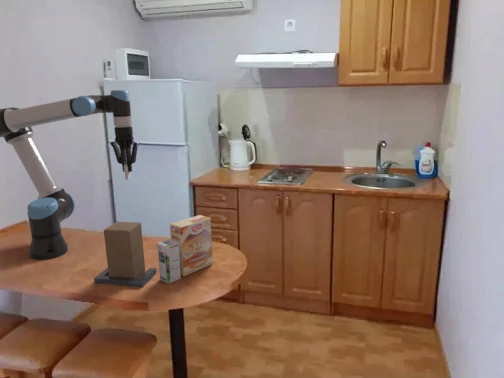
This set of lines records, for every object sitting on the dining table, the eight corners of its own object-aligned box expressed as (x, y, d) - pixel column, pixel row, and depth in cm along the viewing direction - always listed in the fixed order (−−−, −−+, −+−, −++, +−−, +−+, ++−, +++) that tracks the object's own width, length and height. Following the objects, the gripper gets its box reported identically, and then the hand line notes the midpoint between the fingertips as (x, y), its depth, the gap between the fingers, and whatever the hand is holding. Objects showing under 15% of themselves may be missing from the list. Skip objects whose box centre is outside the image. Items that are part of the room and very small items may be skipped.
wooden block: (133, 283, 153) (128, 231, 148) (108, 281, 155) (102, 229, 150) (145, 271, 162) (141, 222, 158) (122, 269, 164) (117, 221, 160)
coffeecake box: (183, 276, 157) (180, 227, 152) (172, 271, 162) (168, 223, 157) (213, 264, 167) (211, 217, 163) (202, 259, 172) (199, 214, 168)
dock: (94, 283, 153) (94, 278, 153) (111, 269, 164) (110, 265, 164) (142, 287, 150) (142, 281, 149) (156, 273, 160) (155, 268, 160)
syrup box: (159, 279, 155) (156, 242, 151) (172, 274, 159) (169, 238, 156) (168, 284, 151) (165, 246, 148) (181, 278, 155) (179, 242, 152)
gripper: (140, 125, 186) (145, 177, 191) (114, 125, 188) (119, 176, 194) (132, 126, 178) (137, 181, 184) (105, 127, 181) (110, 180, 187)
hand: (128, 178), depth 189 cm, fingers closed
